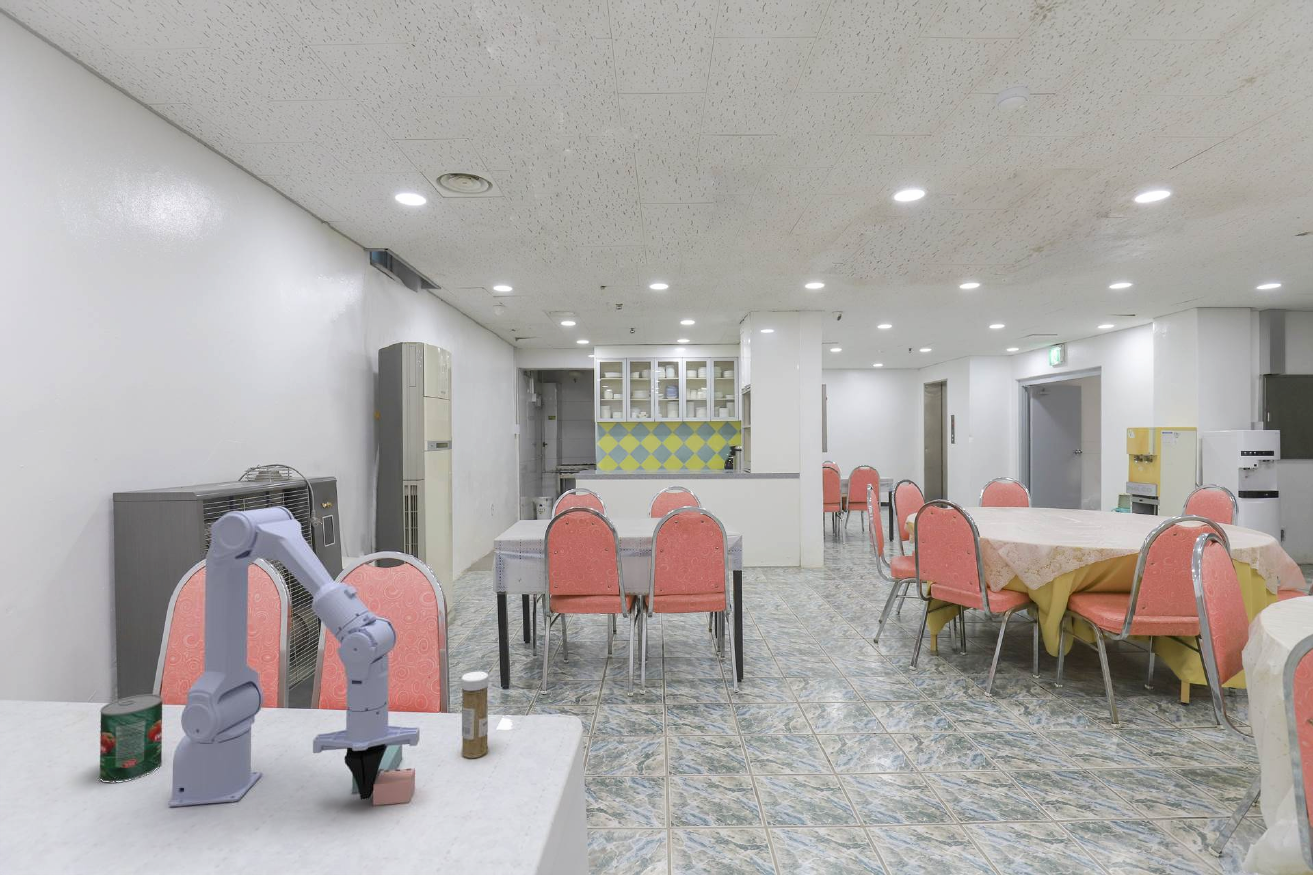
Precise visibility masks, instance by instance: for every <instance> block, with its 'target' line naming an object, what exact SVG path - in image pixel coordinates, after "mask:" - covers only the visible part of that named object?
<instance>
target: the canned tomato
mask: <svg viewBox="0 0 1313 875" xmlns="http://www.w3.org/2000/svg"><path fill="white" fill-rule="evenodd" d="M163 699H164V698H163V696H162V695H160V694H154V693H153V694H151V693H147V694H138V695H133V696H127V697H124V698H120V699H117V700H114V701H112V702H108V703H106V704H105V705H103V706H102V707H101V708H100V712H99V713H100V721H99V723H100V725H99V727H100V730H99V733H100V736H99V739H100V740H99V743H100V745H99V748H100V749H99V750H100V751H99V754H100V755H99V777H100V779H102V780H103V781H109V782H113V781H114V782H116V781H125V780H129V779H134V780H136V779H135V778H137V777H141V776H143V775H145V774H147V773H150V772H152V771H154V770H155V769H156V768H158V767H159V766H160V765H161V766H162V764H163V760H162V755H163V754H162V753H163V752H162V751H163V750H162V749H163V747H162V746H163V745H162V744H163V736H162V735H163V731H162V730H163ZM161 763H162V764H161ZM161 766H160V767H161ZM160 767H159V768H160ZM159 768H158V769H159ZM155 771H156V770H155ZM155 771H154V772H155ZM152 773H153V772H152ZM150 774H151V773H150ZM143 777H144V776H143ZM141 778H142V777H141ZM100 779H99V780H100Z"/></svg>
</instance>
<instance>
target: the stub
mask: <svg viewBox="0 0 1313 875" xmlns="http://www.w3.org/2000/svg"><path fill="white" fill-rule="evenodd" d="M415 789H416V768H402V769H398V768H397V770H385V771H381V772H380V774H379V776H378V778H377V779H376V781H375V783H374V791H373V800H372V801H373V803H372V804H373V806H380V805H381V806H382V805H390V804H391V805H392V804H401V803H402V804H403V803H404V804H405V803H410V800H411V798H412V796H413V793H414V791H415Z"/></svg>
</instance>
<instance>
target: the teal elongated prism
mask: <svg viewBox="0 0 1313 875" xmlns="http://www.w3.org/2000/svg"><path fill="white" fill-rule="evenodd" d="M402 760H403V745H391V746H387V749H386V751H385V753H384V755H383V758H382V760H381V763H380V766H379V769H378V772H377V775H376V779H377V778H378V776H379V774H380V772H381V771H385V770H398V768H399V766H400V764H401V761H402ZM351 776H352V779H351V780H352V781H351V782H352V785H351V786H352V787H351V791H352V793H359V790H358V786H357V783H356V781H355V778H354V776H353V774H352V773H351ZM376 779H375V781H376ZM373 792H374V790H373Z"/></svg>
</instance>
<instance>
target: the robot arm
mask: <svg viewBox="0 0 1313 875" xmlns="http://www.w3.org/2000/svg"><path fill="white" fill-rule="evenodd" d="M210 530H211V531H210V546H209V548H208V550H207V553H206V556H205V580H204V581H205V584H204V585H205V587H204V588H205V590H204V591H205V592H204V593H205V594H204V600H205V601H204V653H203V654H204V660H203V662H204V666H203V668H204V670H203V673H202V674H201V675H200V677H198V679H197V680H196V681H195V683H194V684H193V685H191V687H190V688H189V689H188V691H187V692H186V693H187V694H186V695H187V696H186V697H187V698H186V704H185V706H184V708H183V711H182V714H181V719H180V720H181V721H180V723H181V727H182V731H183V732H184V733H185V735H184V736H183V737H182V738H181V739H180V740H179V742H178V744H177V746H176V748H175V750H174V754H173V760H172V788H171V789H172V790H171V792H172V795H171V798H172V800H171V801H170V802H169V803H168V805H169V807H181V806H193V805H204V804H216V803H227V802H230V803H231V802H236V801H239V800H240V799H241V798H242V797H243V796H244V795H245V794H246V793H247V791H248V790H250V788H251V787H252V786H253V785H254V784H255V783H256V782H257V780H259V778H260V777H261V776H262V774H263V772H262V771H251V770H252V725H253V724H254V723H255V720H256V719H255V718H256V717H255V716H256V715H257V714H259V712H260V711H261V710H262V707H263V704H264V700H265V699H264V693H263V690H262V688H261V685H260V681H259V671H257V670H256V669H254V668H252V667H250V666H249V665H248V610H249V608H248V607H249V606H248V603H249V598H248V597H249V594H248V593H249V566H251V565H252V564H254V563H255V561H256V560H258V559H259V558H261V559H268V560H277V561H279V562H280V564H281V565H282V566H283V567H285V569H286V570H287V571H288V573H290V574H291V575H292V576H293V577H294V578H295V579H296V581H297V582H298V583H300V584H301V586H302V587H303V588H304V589H306V590H307V591H308V593H309V594H310V595H311V596H312V598H313V599H312V604H311V610H312V611H313V612H314V613H315V615H316V616H317V617H318V618H319V619H320V621H321V622H322V623H323V624H324V626H325V627H326V628H327V629H328V631H329V632H330V634H332V635H333V637H334V638H335V639H336V641H337V642H338V643H339V644H340V646H337V648H336V650H337V655H338V658H339V660H340V661H341V663H342V664H343V666H344V676H345V677H346V707H345V708H346V712H345V713H346V715H345V716H346V717H345V720H346V723H345V724H346V727H345V729H343V730H338V731H333V732H328V733H327V732H326V733H319V734H317V735H316V736H315V737H314V738H313V740H312V753H313V754H320V753H322V752H323V751H331V750H332V751H334V750H335V751H336V750H346V752H345V753H346V754H345V756H344V758H343V760H344V763H345V765H346V766H347V768H348V769H349V771H350V772H351V775H352V774H353V776H354V778H355V781H356V783H357V786H358V790H359V792H358V794H359V799H360V800H361V801H363V800H369V799H371V797H372V795H373V794H374V791H373V790H374V783H375V779H376V775H377V772H378V769H379V766H380V763H381V760H382V758H383V755H384V753H385V751H386V749H387V746H391V745H402V746H403V745H408V746H410V747H414V746H417V745H418V744H419V742H420V727H419V726H418V727H416V726H415V727H409V726H408V727H407V726H397V725H389V674H390V672H389V669H390V668H389V667H390V666H389V665H390V664H389V662H390V660H389V658H390V655H389V653H390V652H392V650H393V649H394V647H395V645H396V644H397V632H396V630H395V626H393V624H392V622H391V621H390V620H389V619H387V618H385V617H379V616H377V615H376V614H375V613H373V611H372V612H371V611H370V610H369V609H368V607H367V606H366V605H365V603H364V602H363V601H362V600H361V599H360V598H359V596H358V595H357V593H358V591H357V590H356V588H355V587H354V586H351V585H350V586H349V584H348V583H346V582H339V581H338V582H337V581H334V579H333V577H332V576H331V575H330V573H329V572H328V570H327V569H326V567H325V566H324V565H323V563H322V562H321V561H320V558H319V557H318V556H317V555H316V554H315V552H314V551H313V549H312V548H311V546H310V545H309V544H308V542H307V541H306V539H305V538H304V536H303V534H302V524H301V522H299V521H298V520H297V519H296V518H295V517H294V515H293V514H292V512H291V511H290V510H289V509H288V508H286V507H284V506H281V505H276V506H270V507H266V508H265V507H264V508H258V509H257V508H256V509H249V510H242V511H239V510H233V511H228V512H226V513H225V514H223V515H222V516H221V517H220V518H218V519H217V520H216V521H215V522H213V523H212V524H211V526H210Z"/></svg>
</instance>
